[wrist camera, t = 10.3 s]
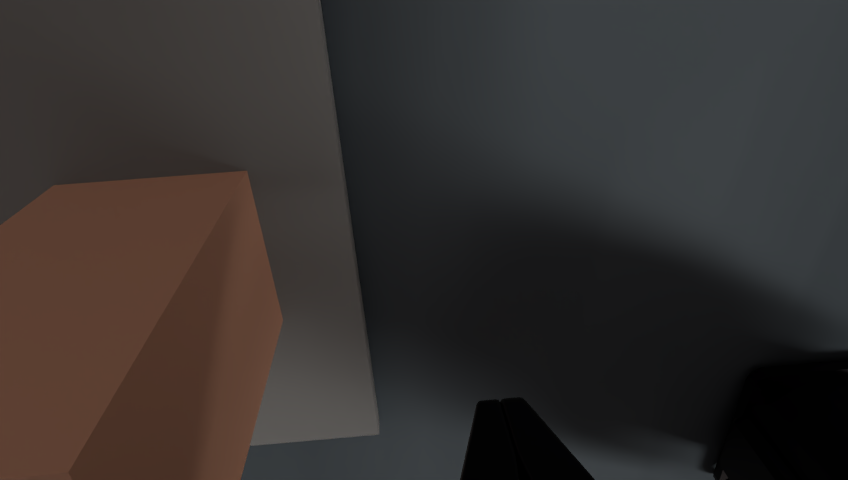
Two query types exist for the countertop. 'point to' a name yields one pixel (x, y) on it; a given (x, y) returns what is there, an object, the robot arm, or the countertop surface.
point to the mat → (207, 158)
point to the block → (134, 330)
